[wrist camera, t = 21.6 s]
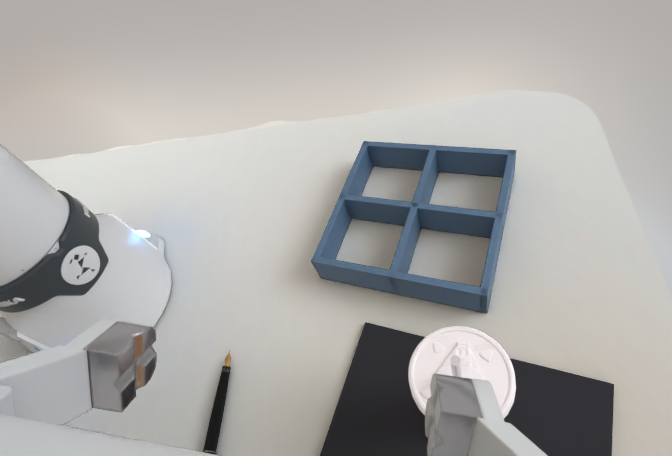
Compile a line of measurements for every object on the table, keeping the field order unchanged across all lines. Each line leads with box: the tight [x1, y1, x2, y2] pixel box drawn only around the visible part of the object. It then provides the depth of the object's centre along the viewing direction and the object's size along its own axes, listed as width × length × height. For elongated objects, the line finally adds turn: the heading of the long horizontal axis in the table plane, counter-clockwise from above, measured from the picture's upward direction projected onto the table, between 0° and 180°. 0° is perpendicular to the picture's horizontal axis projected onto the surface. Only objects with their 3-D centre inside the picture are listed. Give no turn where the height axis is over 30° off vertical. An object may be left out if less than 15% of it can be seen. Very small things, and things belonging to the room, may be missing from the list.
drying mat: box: [320, 323, 614, 456], centre depth 32 cm, size 20×16×1 cm
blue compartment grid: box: [311, 141, 516, 313], centre depth 44 cm, size 17×17×4 cm
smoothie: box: [408, 326, 516, 419], centre depth 28 cm, size 6×6×14 cm
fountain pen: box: [203, 351, 231, 455], centre depth 38 cm, size 14×1×2 cm, turn 176°
